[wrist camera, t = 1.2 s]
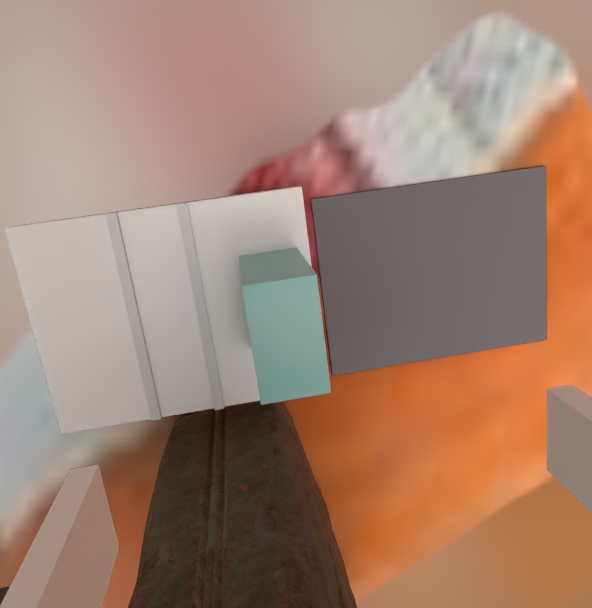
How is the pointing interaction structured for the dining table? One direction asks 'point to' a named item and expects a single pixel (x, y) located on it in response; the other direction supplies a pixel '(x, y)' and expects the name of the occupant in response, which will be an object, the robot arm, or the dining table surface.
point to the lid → (173, 308)
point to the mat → (433, 268)
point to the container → (238, 519)
